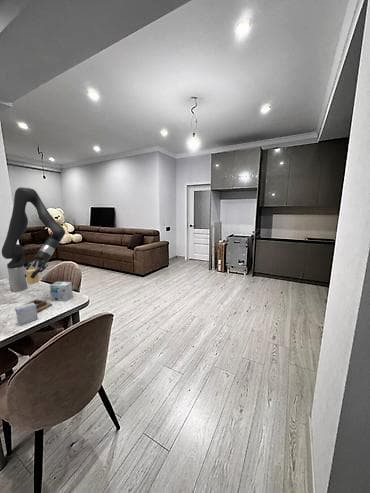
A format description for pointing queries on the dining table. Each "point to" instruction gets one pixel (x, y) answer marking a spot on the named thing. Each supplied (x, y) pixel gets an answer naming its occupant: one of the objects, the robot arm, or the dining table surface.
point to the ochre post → (29, 279)
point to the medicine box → (26, 313)
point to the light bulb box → (61, 291)
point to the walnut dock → (40, 305)
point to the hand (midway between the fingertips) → (29, 277)
